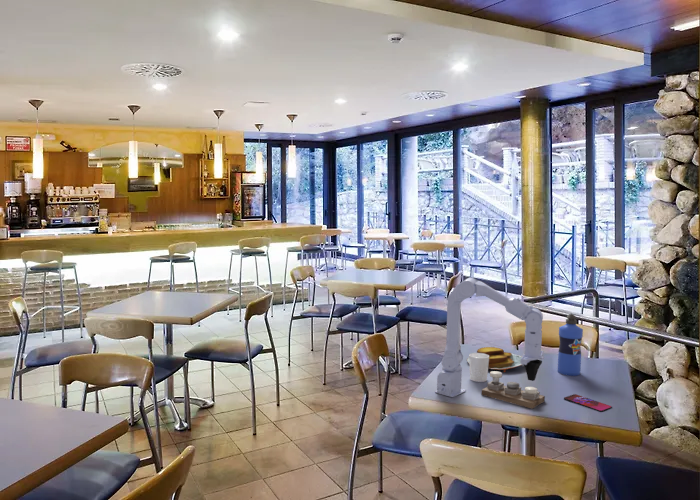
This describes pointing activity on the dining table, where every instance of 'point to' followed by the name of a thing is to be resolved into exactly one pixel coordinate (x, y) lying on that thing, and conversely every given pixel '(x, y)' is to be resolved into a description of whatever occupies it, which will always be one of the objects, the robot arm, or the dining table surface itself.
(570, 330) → the water bottle
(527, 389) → the right knob
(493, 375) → the left knob
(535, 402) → the knob mount
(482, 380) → the white cup
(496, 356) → the food on plate
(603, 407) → the smartphone
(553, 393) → the dining table surface
